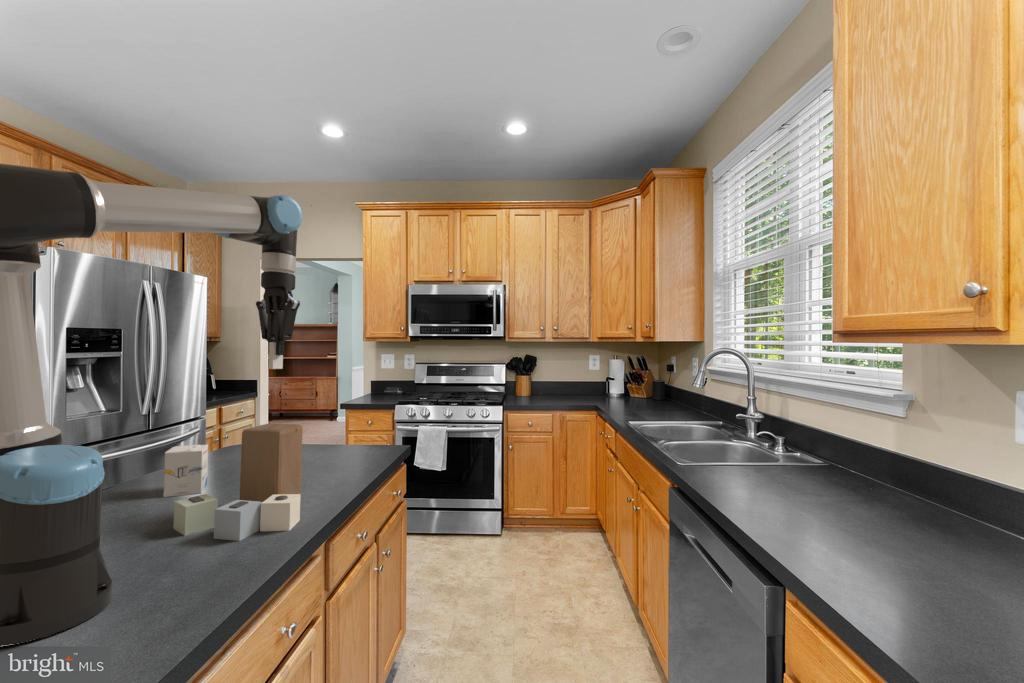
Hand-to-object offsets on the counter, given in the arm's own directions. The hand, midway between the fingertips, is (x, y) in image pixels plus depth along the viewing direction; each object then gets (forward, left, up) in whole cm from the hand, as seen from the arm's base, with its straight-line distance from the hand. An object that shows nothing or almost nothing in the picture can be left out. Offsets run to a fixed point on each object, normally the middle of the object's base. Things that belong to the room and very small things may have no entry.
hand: (275, 368), depth 109 cm
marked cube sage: (-15, +4, -34) cm, 38 cm away
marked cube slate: (-13, -7, -34) cm, 37 cm away
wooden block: (0, 0, -34) cm, 34 cm away
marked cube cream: (-6, -11, -34) cm, 36 cm away
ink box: (-1, +32, -34) cm, 47 cm away
